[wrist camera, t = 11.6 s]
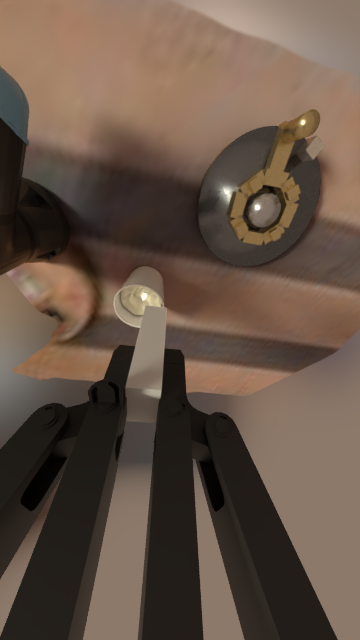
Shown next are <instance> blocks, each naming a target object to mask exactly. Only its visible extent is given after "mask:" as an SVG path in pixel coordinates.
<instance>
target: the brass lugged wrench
mask: <svg viewBox="0 0 360 640" xmlns="http://www.w3.org/2000/svg"><path fill="white" fill-rule="evenodd" d="M319 122H320V114H319V112H318V111H317V110H314V109H313V110H310V111H308V112H306V113H304V114H302V115H301V116H299V117H297V118H295V119H293V120H292V121H290V122H287V121H285V122H283V123H281V124H280V125H279V127H278V130H277V133H276V136H275V139H274V142H273V145H272V149H271V152H270V155H269V158H268V161H267V164H266V167H265V169H261V170H258V171H255V172H254V173H252V174H251V175H250V176H249V177H247V178H246V179H245V180H243V181H242V182H241V183H240V184H238V185H237V186H236V189H237V191H238V192H234V191H233V192H232V195H231V199H230V203H229V207H228V210H227V214H226V215H227V216H229V218H228V219H227V221H228V223H229V225H230V227H231V229H232V231H233V233H234V235H235V236H236V237H237V238H238V239H239V240H241V241H242V242H245V243H250V244H256V245H262V242H263V243H264V244H267V243H268V242H270V241H271V240H272V241H276V240H277V239H279V238H280V237H281V234H282V233H284V232H285V231H284V228H283V227H286V228H288V227H289V225H290V223H291V221H292V218H293V216H294V214H295V212H296V209H297V207H298V205H299V204H295V203H294V202H296V201H297V200H299V196H298V194H300V193H301V192H300V189H299V185H298V184H295V183H294V179H293V176H292V177H288V176H289V173H286V172H284V169H285V166H286V164H287V161H288V158H289V156H290V153H291V150H292V148H293V145H294V142H295V141H297V140H300V139H302V138H305V137H308V136H310V135H312V134H313V133H314V132H315V131H316V129H317V128H318V125H319ZM262 186H267V187H272V188H274V191H275V194H276V196H277V197H278V198H279V200H280V203H281V209H280V213H279V215H278V217H277V219H276V220H275V221H274V222H273V223H272V224H271V225H269V226H267V227H262V228H261V229H259V230H258V231H257V230H252V229H248V227H247V225H246V223H245V222H244V220H243V218H242V214H243V211H244V208H245V204H246V201H247V198H248V196H250V195H251V194H252V193H256V192H257V191H258V190H260V189H261V188H262Z"/></svg>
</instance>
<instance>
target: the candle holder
mask: <svg viewBox="0 0 360 640" xmlns="http://www.w3.org/2000/svg"><path fill="white" fill-rule="evenodd" d="M113 305H114V310H115V312H116V314H117V316H118V317H119V318H120V319H121V320H122V321H123V322H125V323H126V324H128V325H130V326H133V327H139V328H140V326H141V322H142V318H143V314H144V310H145V306H155V307H164V283H163V278H162V276H161V274H160V273H159V272H158V271H157V270H155V269H154V268H152V267H148V266H142V267H138V268H136V269H135V270H134V271H133V272H132V273H131V274H130V276H129V277H128V278H127V280H126V281H125V283H124V284H123V286H122V287H121V289H120V290H119V291H118V292H117V294H116V295H115V298H114V303H113Z"/></svg>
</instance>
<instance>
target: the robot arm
mask: <svg viewBox="0 0 360 640" xmlns="http://www.w3.org/2000/svg"><path fill="white" fill-rule="evenodd" d="M28 119H29V105H28V101H27V98H26V96H25V94H24V92H23V90H22V89H21V87H20V86H19V84H18V83H17V82H16V81H15V80H14V79H13V78H12V77H11V76H10V75H9V74H8V73H7V72H6V71H5V70H4V69H3V68H2V67H1V66H0V275H2V274H4V273H6V272H8V271H10V270H12V269H14V268H16V267H18V266H20V265H21V264H23V263H36V262H46V261H50V260H52V259H54V258H56V257H57V256H59V255H60V254H62V253H63V251H64V250H65V249H66V247H67V244H68V241H69V228H68V224H67V221H66V218H65V215H64V213H63V211H62V210H61V208H60V206H59V205H58V204H57V202H56V201H55V200H54V198H53V197H52V196H51V195H50V194H49V193H48V192H47V191H45V190H44V189H43V188H42V187H40V186H39V185H37V184H36V183H34V182H32V181H30V180H28V179H26V178H23V177H22V173H23V166H24V159H25V152H26V145H27V146H28V145H29V141H28V139H27V131H28ZM166 317H167V308H164V307H155V306H145V310H144V314H143V318H142V322H141V326H140V330H139V334H138V338H137V342H136V346H126V345H120V346H119V347H118V348H117V349H116V350H115V351H114V352H113V355H112V358H111V361H110V363H109V366H108V369H107V371H106V374H105V377H104V379H103V380H100V381H98V382H96V383H95V384H93V385H92V386H91V387H90V389H89V390H88V395H89V400H90V401H88V402H86V403H83V404H80V405H76V406H72V407H68V408H66V407H65V406H63V405H62V404H59V403H51V404H47V405H45V406H43V407H41V408H39V409H38V410H36V411H35V412H34V413H33V414H32V415H31V416H30V417H29V418H28V419H27V420H26V421H25V423H24V424H23V425H22V426H21V427H20V428H19V429H18V430H17V432H16V433H15V434H14V435H13V436H12V437H11V438H10V439H9V440H8V441H7V443H6V444H5V445H4V446H3V447H2V448H1V449H0V578H1V577H2V575H3V574H4V572H5V570H6V568H7V567H8V565H9V563H10V562H11V560H12V558H13V557H14V555H15V553H16V552H17V550H18V548H19V547H20V545H21V543H22V542H23V540H24V538H25V537H26V535H27V533H28V532H29V530H30V528H31V527H32V525H33V523H34V522H35V520H36V518H37V516H38V515H39V513H40V512H41V510H42V508H43V507H44V505H45V503H46V501H47V500H48V498H49V496H50V495H51V493H52V491H53V490H54V488H55V486H56V484H57V483H58V481H59V480H60V478H61V476H62V475H63V476H62V478H61V481H60V483H59V486H58V489H57V491H56V494H55V496H54V499H53V502H52V504H51V507H50V510H49V512H48V514H47V517H46V520H45V523H44V525H43V527H42V530H41V533H40V535H39V538H38V540H37V543H36V546H35V548H34V551H33V553H32V556H31V559H30V561H29V564H28V567H27V569H26V572H25V574H24V577H23V579H22V582H21V585H20V587H19V590H18V592H17V595H16V598H15V600H14V603H13V605H12V608H11V610H10V613H9V616H8V618H7V621H6V623H5V626H4V629H3V631H2V634H1V636H0V640H83V636H84V631H85V626H86V621H87V616H88V611H89V606H90V601H91V595H92V591H93V586H94V581H95V576H96V571H97V566H98V561H99V556H100V552H101V546H102V541H103V536H104V532H105V527H106V521H107V517H108V512H109V507H110V502H111V497H112V492H113V487H114V482H115V477H116V472H117V467H118V462H119V457H120V453H121V448H122V443H123V438H124V427H125V422H126V421H133V422H153V423H156V432H155V438H154V452H153V464H152V476H151V488H150V501H149V513H148V525H147V537H146V548H145V560H144V573H143V584H142V596H141V608H140V621H139V632H138V640H203V626H202V609H201V592H200V577H199V576H200V575H199V559H198V543H197V526H196V510H195V493H194V477H193V460H192V458H194V459H195V460H196V464H197V467H198V471H199V474H200V478H201V482H202V485H203V489H204V493H205V496H206V500H207V504H208V507H209V511H210V515H211V518H212V522H213V526H214V529H215V533H216V537H217V540H218V544H219V548H220V551H221V555H222V559H223V562H224V566H225V569H226V573H227V577H228V581H229V584H230V588H231V591H232V595H233V599H234V602H235V606H236V609H237V613H238V617H239V621H240V624H241V628H242V632H243V635H244V639H245V640H337V637H336V635H335V633H334V631H333V629H332V627H331V625H330V623H329V621H328V618H327V617H326V614H325V612H324V610H323V608H322V606H321V604H320V602H319V600H318V597H317V595H316V593H315V591H314V589H313V587H312V585H311V582H310V581H309V578H308V576H307V574H306V572H305V570H304V568H303V566H302V564H301V561H300V559H299V557H298V555H297V553H296V551H295V549H294V547H293V545H292V542H291V540H290V538H289V536H288V534H287V532H286V530H285V528H284V525H283V524H282V521H281V519H280V517H279V515H278V513H277V511H276V509H275V506H274V504H273V502H272V500H271V498H270V496H269V494H268V492H267V490H266V488H265V485H264V484H263V481H262V479H261V477H260V475H259V473H258V471H257V468H256V466H255V464H254V462H253V460H252V458H251V456H250V454H249V452H248V449H247V447H246V445H245V443H244V441H243V439H242V437H241V435H240V433H239V430H238V428H237V426H236V424H235V423H234V421H233V420H232V419H231V418H230V417H229V416H228V415H226V414H224V413H221V412H215V413H213V414H211V415H208V414H205V413H203V412H200V411H198V410H196V409H195V408H193V407H192V406H191V404H190V403H189V402H188V399H187V396H186V380H185V361H184V355H183V354H182V352H181V350H175V349H164V347H165V332H166Z"/></svg>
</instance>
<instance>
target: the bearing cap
mask: <svg viewBox="0 0 360 640" xmlns="http://www.w3.org/2000/svg"><path fill="white" fill-rule="evenodd" d="M278 127H279V126H268V127H262V128H258V129H255V130H252V131H250V132H248V133H246V134H244V135H242V136H241V137H239V138H237V139H236V140H235V141H233V142H232V143H231V144H230V145H228V146H227V147H226V148H225V149H224V150H223V151H222V152H221V153H220V154H219V155H218V156H217V157H216V159H215V160H214V161H213V163H212V164H211V166H210V167H209V169H208V171H207V173H206V175H205V177H204V179H203V181H202V184H201V187H200V191H199V195H198V201H197V220H198V225H199V229H200V232H201V235H202V237H203V239H204V241H205V243H206V245H207V246H208V248H209V249H210V250H211V252H212V253H213V254H214V255H215V256H217V257H218V258H219V259H221V260H222V261H224V262H226V263H229V264H232V265H236V266H255V265H259V264H263V263H266V262H268V261H270V260H272V259H274V258H276V257H278V256H279V255H281V254H282V253H284V252H285V251H286V250H287V249H288V248H290V247H291V246H292V245H293V244H294V243H295V242H296V241H297V239H298V238H299V237H300V236H301V235H302V233H303V232H304V230H305V229H306V227H307V226H308V224H309V222H310V220H311V218H312V216H313V213H314V211H315V208H316V205H317V202H318V198H319V193H320V183H321V179H320V168H319V163H318V160H317V157H316V156H317V155H318V154H319V153H320V152H321V150H322V149H323V148H324V147H325V144H324V143H323V142H322V140H321V139H320V137H319V136H318V135H316V136H314V137H311V138H308V139H305V138H302V139H300V140H297V141H295V142H294V145H293V148H292V150H291V153H290V156H289V158H288V161H287V164H286V166H285V169H284V172H286V173H289V176H288V177H292V176H293V179H294V183H295V184H298V185H299V189H300V192H301V193H300V194H298V196H299V200H297V201H296V202H294V203H295V204H299V205H298V207H297V209H296V212H295V214H294V216H293V218H292V221H291V223H290V225H289V227H288V228H286V227H283V228H284V231H285V232H284V233H282V234H281V237H280V238H279V239H277V240H276V241H272V240H271V241H270V242H268V243H267V244H264V243H263V242H262V245H256V244H250V243H245V242H242V241H241V240H239V239H238V238H237V237H236V236H235V235H234V233H233V231H232V229H231V227H230V225H229V223H228V221H227V219H228V218H229V216H227V215H226V214H227V210H228V207H229V203H230V199H231V195H232V192H233V191H234V192H238V191H237V189H236V186H237V185H238V184H240V183H241V182H242V181H243V180H245V179H246V178H247V177H249V176H250V175H251V174H252V173H254V172H255V171H258V170H261V169H265V167H266V164H267V161H268V158H269V155H270V152H271V149H272V145H273V142H274V139H275V136H276V133H277V130H278ZM280 209H281V203H280V200H279V198H278V197H277V196H276V194H275V191H274V188H272V187H267V186H262V188H261V189H260V190H258V191H257V192H256V193H252V194H251V195H250V196H248V198H247V201H246V204H245V208H244V211H243V214H242V218H243V220H244V222H245V223H246V225H247V227H248V229H252V230H257V231H258V230H259V229H261V228H262V227H267V226H269V225H271V224H272V223H273V222H274V221H275V220H276V219H277V217H278V215H279V213H280Z"/></svg>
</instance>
